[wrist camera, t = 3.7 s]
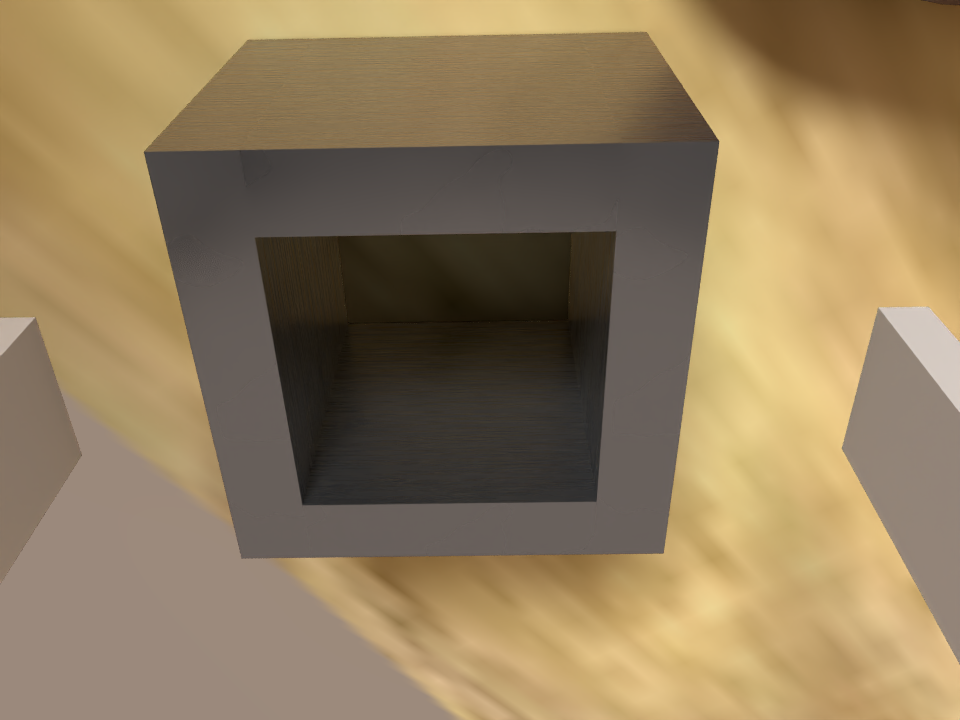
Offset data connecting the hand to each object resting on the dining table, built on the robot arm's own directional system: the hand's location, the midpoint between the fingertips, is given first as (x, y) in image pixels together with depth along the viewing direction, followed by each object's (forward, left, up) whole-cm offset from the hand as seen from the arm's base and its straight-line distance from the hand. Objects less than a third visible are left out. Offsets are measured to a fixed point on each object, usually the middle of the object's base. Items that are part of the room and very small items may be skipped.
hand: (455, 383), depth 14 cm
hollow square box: (0, 0, -6) cm, 6 cm away
